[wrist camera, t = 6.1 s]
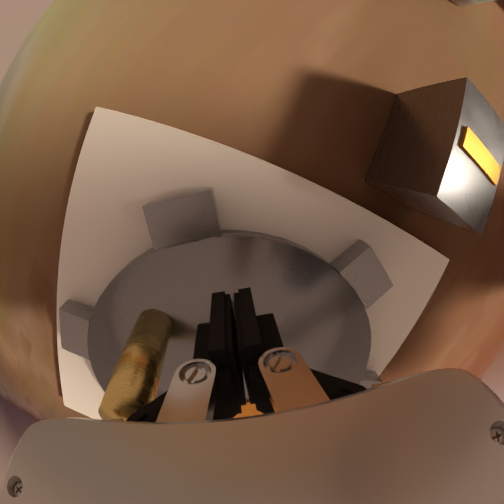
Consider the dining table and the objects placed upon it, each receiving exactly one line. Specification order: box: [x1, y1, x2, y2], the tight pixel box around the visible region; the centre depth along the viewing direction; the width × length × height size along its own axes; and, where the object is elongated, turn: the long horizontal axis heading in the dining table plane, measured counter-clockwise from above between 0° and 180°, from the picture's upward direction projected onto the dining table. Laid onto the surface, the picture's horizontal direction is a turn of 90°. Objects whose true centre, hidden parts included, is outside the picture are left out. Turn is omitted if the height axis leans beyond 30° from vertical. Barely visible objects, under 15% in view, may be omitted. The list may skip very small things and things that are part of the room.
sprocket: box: [59, 187, 394, 421], centre depth 12 cm, size 21×20×7 cm
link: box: [365, 77, 504, 236], centre depth 10 cm, size 4×6×6 cm, turn 158°
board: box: [57, 107, 449, 420], centre depth 16 cm, size 23×23×1 cm
